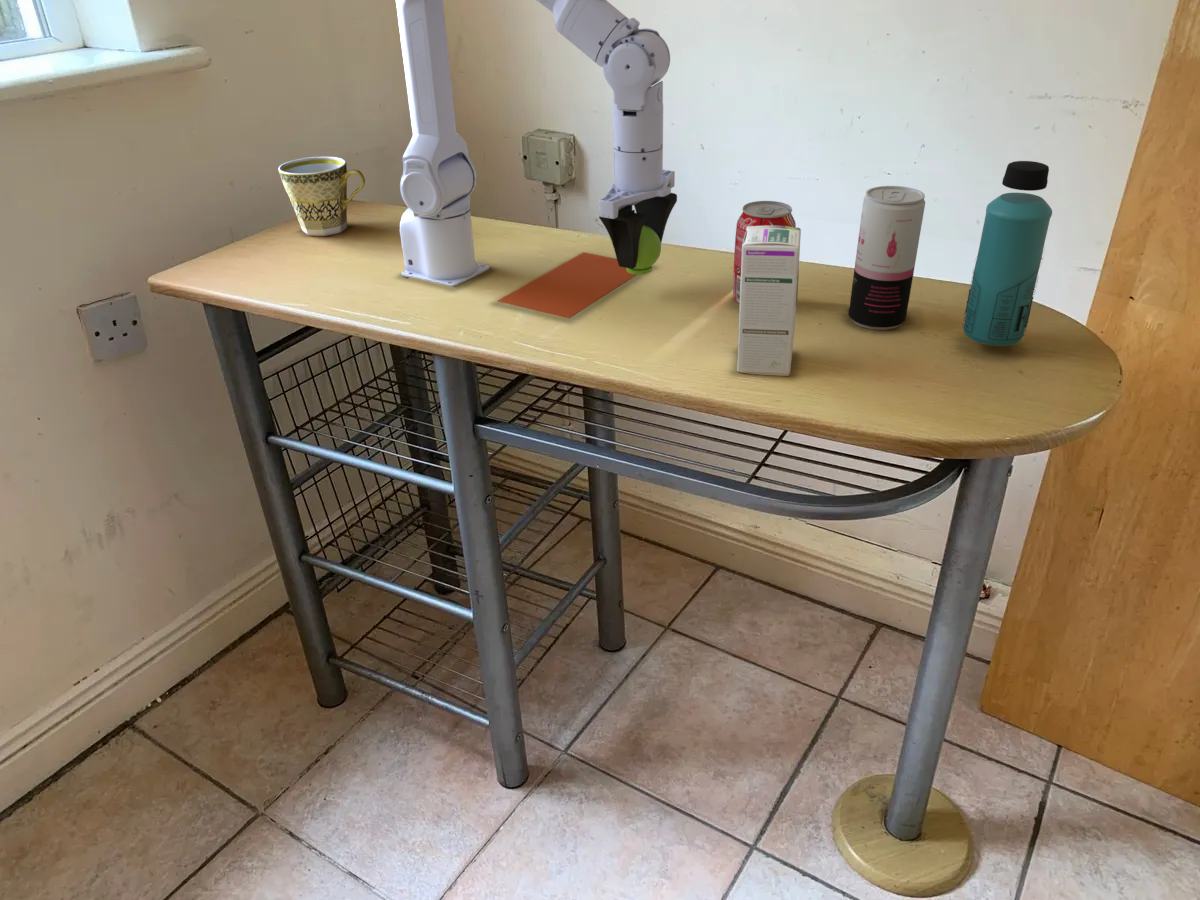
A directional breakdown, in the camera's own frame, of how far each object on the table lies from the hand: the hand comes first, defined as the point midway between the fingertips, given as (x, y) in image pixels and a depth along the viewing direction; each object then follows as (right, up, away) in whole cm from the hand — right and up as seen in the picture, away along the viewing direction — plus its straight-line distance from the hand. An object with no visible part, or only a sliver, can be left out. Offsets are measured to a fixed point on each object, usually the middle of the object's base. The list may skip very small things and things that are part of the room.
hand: (638, 259), depth 111 cm
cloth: (-8, -2, +7) cm, 11 cm away
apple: (0, -1, +1) cm, 1 cm away
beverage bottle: (+38, -12, -11) cm, 42 cm away
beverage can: (+28, -8, -4) cm, 30 cm away
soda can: (+15, -6, +1) cm, 16 cm away
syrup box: (+13, -14, -13) cm, 23 cm away
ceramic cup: (-47, +11, +30) cm, 56 cm away
